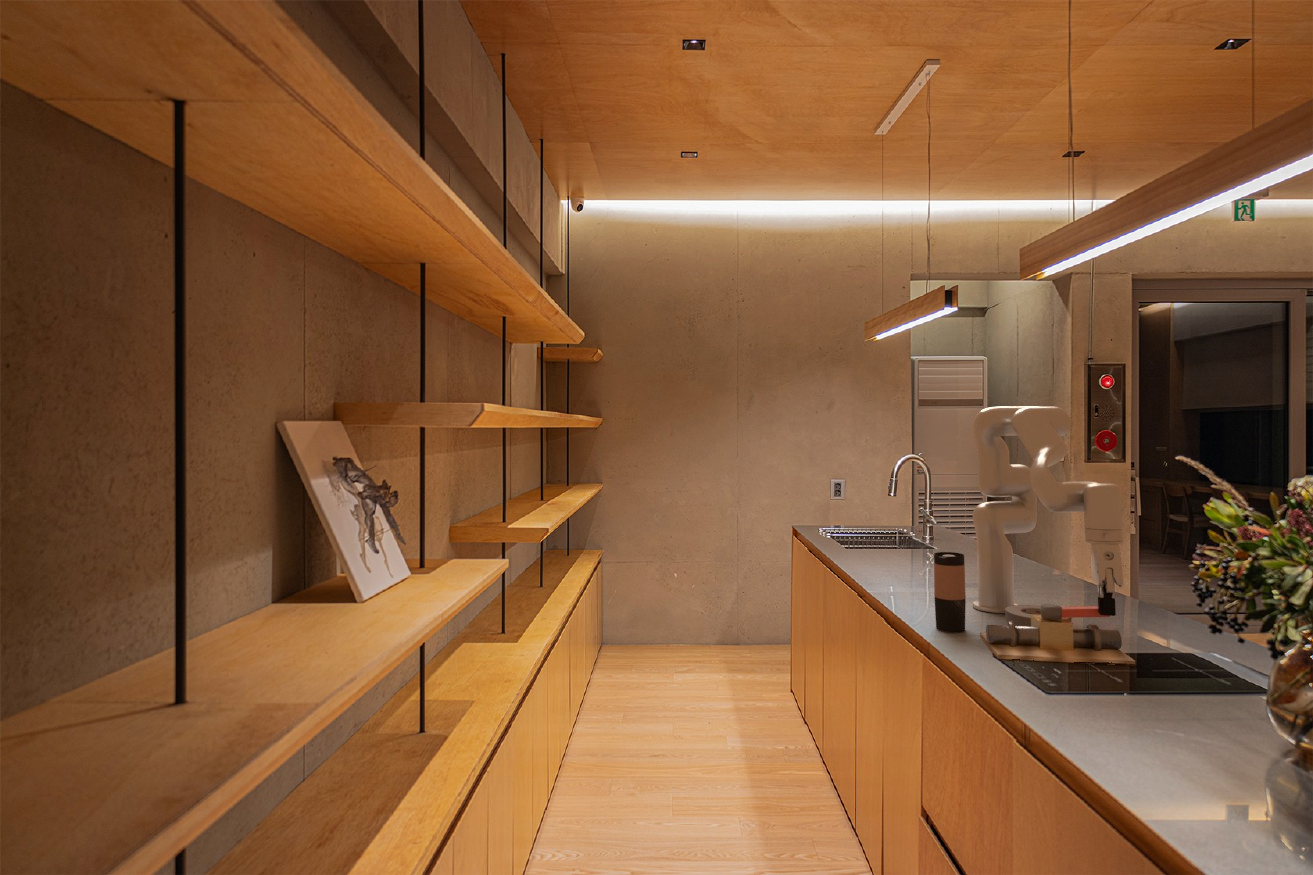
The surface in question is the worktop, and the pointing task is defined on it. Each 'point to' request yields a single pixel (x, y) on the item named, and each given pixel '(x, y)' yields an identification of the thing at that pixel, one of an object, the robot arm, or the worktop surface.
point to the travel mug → (949, 591)
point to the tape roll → (1022, 614)
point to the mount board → (1057, 653)
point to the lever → (1068, 612)
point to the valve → (1053, 635)
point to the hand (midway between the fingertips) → (1107, 614)
